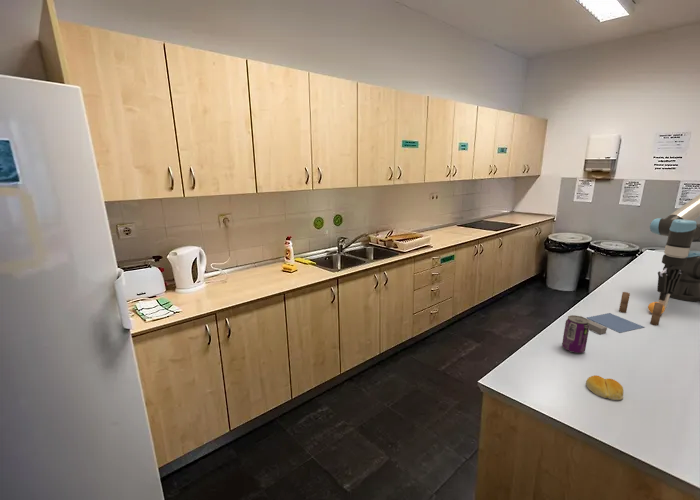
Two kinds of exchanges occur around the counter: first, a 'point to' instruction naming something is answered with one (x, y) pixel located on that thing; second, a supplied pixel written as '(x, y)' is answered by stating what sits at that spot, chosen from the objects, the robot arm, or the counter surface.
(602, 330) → the stopper
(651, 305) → the ball
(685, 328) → the counter surface
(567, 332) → the beverage can
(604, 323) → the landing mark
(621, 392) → the bread roll
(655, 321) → the post
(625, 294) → the post
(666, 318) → the counter surface
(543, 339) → the counter surface
